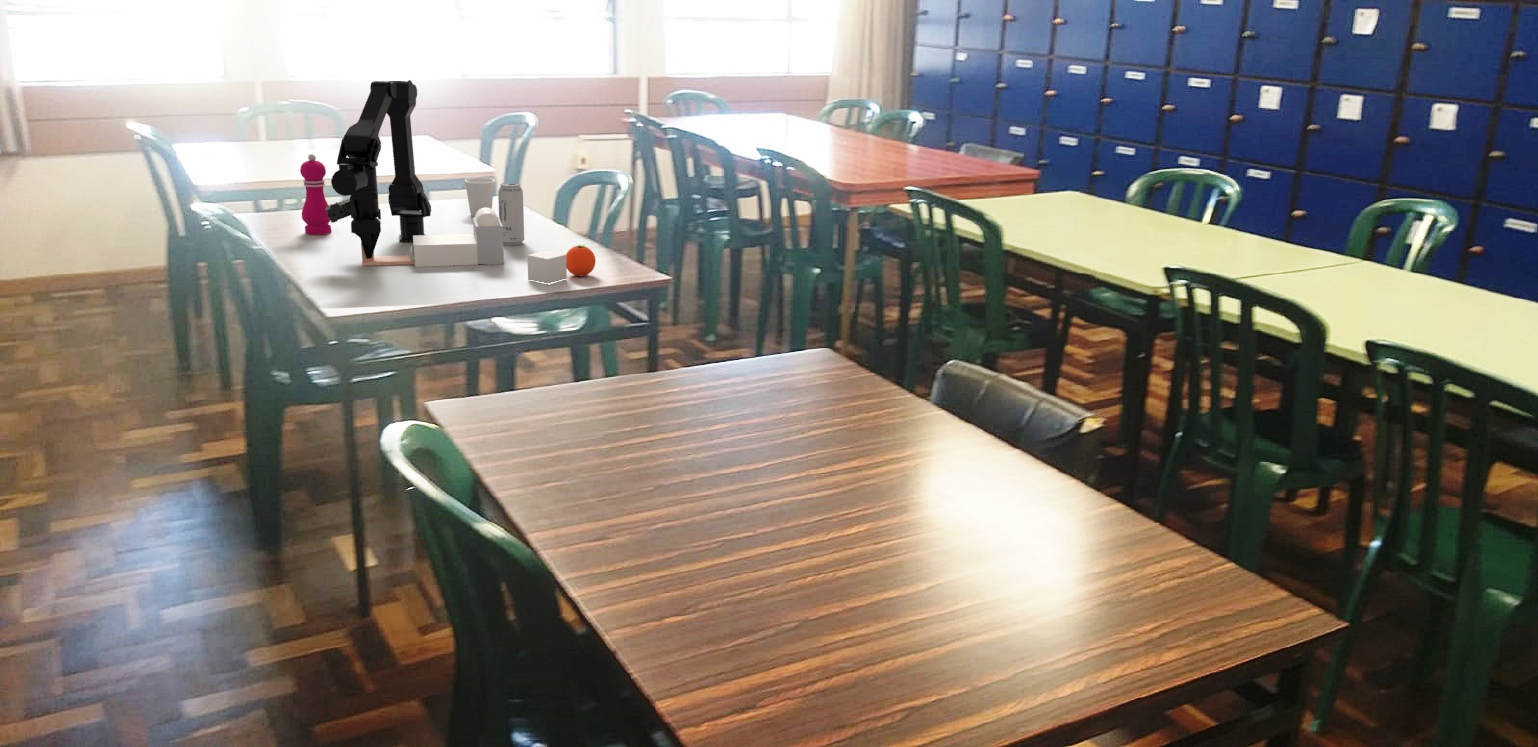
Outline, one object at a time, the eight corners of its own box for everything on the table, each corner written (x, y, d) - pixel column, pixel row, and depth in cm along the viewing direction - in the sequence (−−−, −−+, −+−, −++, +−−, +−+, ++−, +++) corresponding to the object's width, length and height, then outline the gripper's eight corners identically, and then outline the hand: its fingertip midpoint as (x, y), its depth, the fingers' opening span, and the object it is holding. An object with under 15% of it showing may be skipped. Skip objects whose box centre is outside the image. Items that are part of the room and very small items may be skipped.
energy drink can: (495, 243, 292) (493, 183, 287) (515, 240, 296) (513, 181, 291) (509, 247, 288) (507, 187, 283) (529, 244, 292) (527, 185, 287)
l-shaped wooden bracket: (363, 260, 269) (361, 238, 267) (425, 258, 273) (424, 237, 271) (362, 265, 263) (361, 244, 262) (426, 263, 268) (425, 242, 266)
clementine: (569, 270, 267) (568, 240, 265) (598, 272, 267) (598, 241, 265) (562, 278, 259) (561, 247, 257) (592, 280, 259) (592, 249, 257)
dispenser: (410, 256, 274) (407, 208, 271) (500, 253, 280) (498, 206, 277) (411, 266, 264) (408, 217, 261) (504, 264, 271) (502, 215, 267)
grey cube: (548, 286, 253) (547, 259, 251) (528, 281, 256) (527, 255, 254) (566, 280, 258) (566, 254, 256) (547, 276, 261) (546, 250, 259)
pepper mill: (296, 233, 293) (289, 154, 287) (317, 229, 300) (310, 151, 294) (319, 236, 291) (312, 157, 285) (339, 232, 297) (333, 153, 291)
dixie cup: (492, 218, 322) (490, 182, 319) (462, 217, 322) (460, 181, 319) (499, 213, 330) (498, 178, 327) (470, 211, 330) (468, 176, 327)
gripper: (328, 182, 267) (333, 248, 272) (324, 196, 250) (330, 266, 255) (378, 182, 271) (383, 247, 275) (378, 195, 254) (383, 264, 259)
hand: (369, 256), depth 266 cm, fingers closed on l-shaped wooden bracket, 4 cm apart
